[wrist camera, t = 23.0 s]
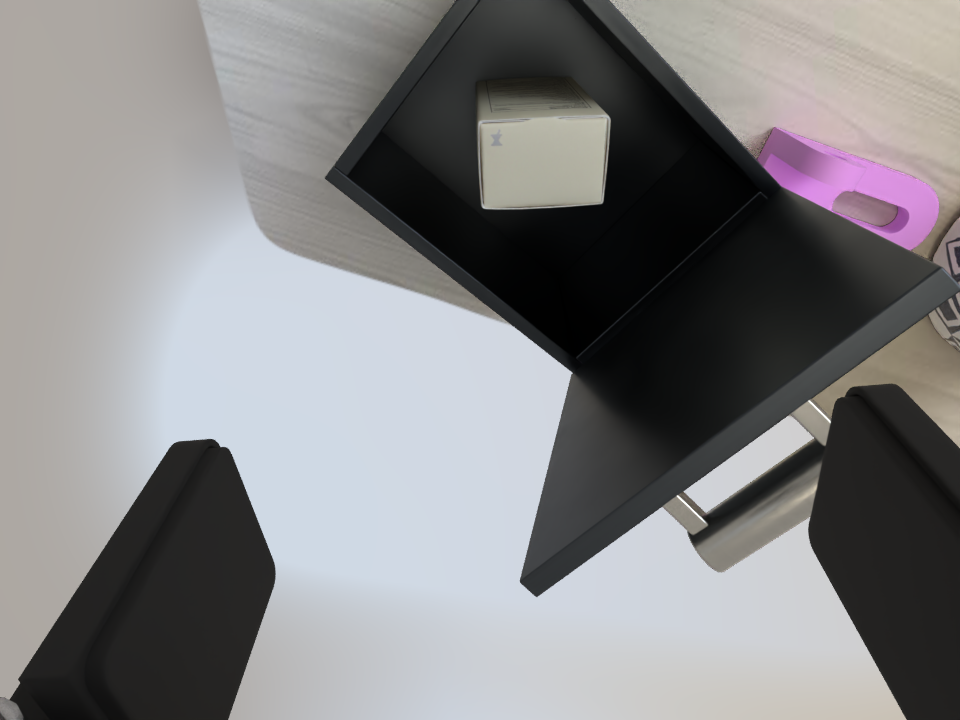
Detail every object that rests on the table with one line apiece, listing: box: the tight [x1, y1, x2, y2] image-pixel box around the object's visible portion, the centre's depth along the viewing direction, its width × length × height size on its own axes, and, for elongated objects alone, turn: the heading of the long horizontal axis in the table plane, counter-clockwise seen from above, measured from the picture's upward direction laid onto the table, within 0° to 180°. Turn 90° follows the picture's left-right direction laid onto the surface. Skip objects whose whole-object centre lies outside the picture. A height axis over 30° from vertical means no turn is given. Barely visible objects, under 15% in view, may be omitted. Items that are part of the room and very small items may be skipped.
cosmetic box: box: [476, 77, 611, 209], centre depth 36 cm, size 6×4×12 cm
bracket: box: [757, 127, 939, 251], centre depth 42 cm, size 13×6×7 cm, turn 72°
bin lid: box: [520, 187, 960, 597], centre depth 27 cm, size 18×15×5 cm
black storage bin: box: [325, 0, 782, 373], centre depth 37 cm, size 18×15×12 cm
